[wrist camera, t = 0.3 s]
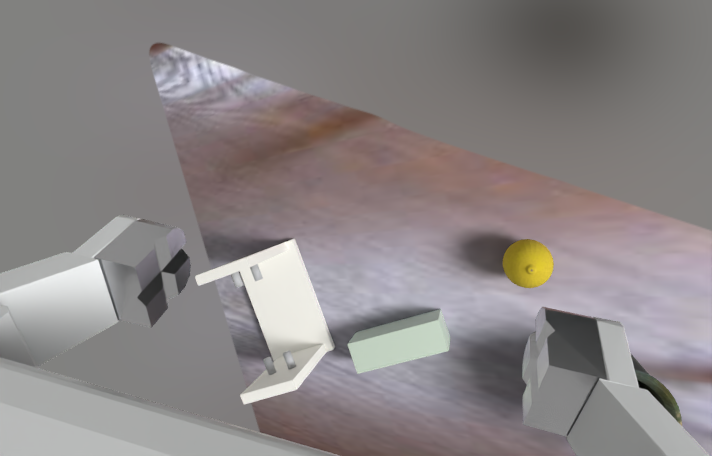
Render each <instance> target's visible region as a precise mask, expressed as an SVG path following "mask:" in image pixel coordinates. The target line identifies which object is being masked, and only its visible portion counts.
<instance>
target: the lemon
mask: <svg viewBox="0 0 712 456" xmlns="http://www.w3.org/2000/svg"><path fill="white" fill-rule="evenodd" d="M553 265H554V264H553V258H552V255H551V253H550V251H549V250H548V249H547V248H546V247H545V246H544V245H543V244H541V243H540V242H537V241H535V240H530V239H525V240H520V241H517V242H515V243H513V244H512V245H510V246H509V248H508V249H507V250H506V252H505V254H504V257H503V269H504V272H505V274H506V275H507V277H508V278H509V279H510V280H511V281H512V282H513V283H514V284H516V285H518V286H521V287H524V288H534V287H538V286H540V285H542V284H544V283H545V282H546V281H547V280H548V279H549V277H550V276H551V274H552V271H553Z"/></svg>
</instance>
